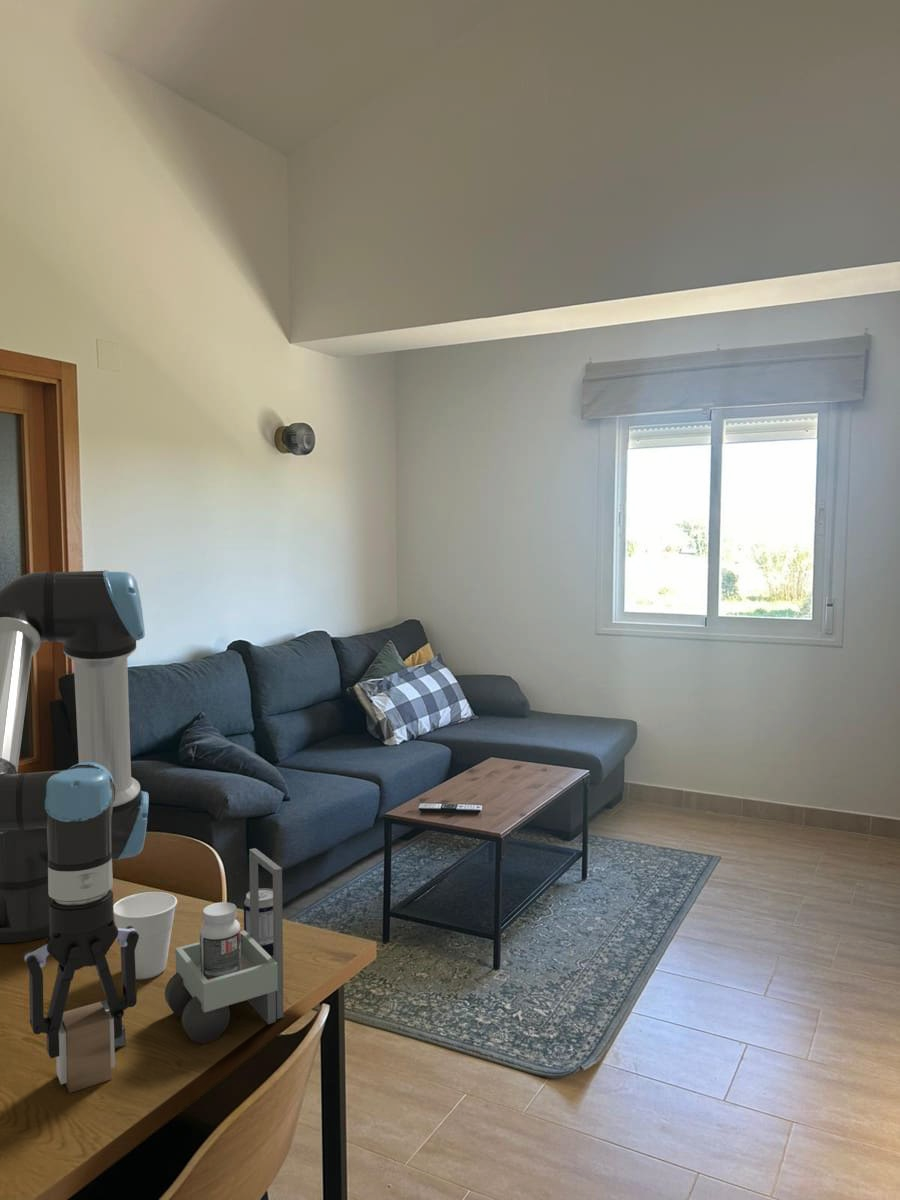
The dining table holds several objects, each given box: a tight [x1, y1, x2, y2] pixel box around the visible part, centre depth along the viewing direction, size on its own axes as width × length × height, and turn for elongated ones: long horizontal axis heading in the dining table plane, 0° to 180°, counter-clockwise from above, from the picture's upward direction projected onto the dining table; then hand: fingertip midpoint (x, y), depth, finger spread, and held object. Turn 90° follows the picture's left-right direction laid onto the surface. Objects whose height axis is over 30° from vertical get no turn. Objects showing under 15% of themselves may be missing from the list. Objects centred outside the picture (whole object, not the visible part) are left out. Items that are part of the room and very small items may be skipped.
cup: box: [113, 891, 178, 980], centre depth 140 cm, size 10×10×11 cm
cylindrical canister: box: [243, 887, 274, 959], centre depth 141 cm, size 6×6×12 cm
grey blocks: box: [67, 999, 127, 1050], centre depth 121 cm, size 9×6×2 cm, turn 34°
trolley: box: [164, 847, 285, 1044], centre depth 126 cm, size 13×14×22 cm
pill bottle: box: [199, 901, 241, 980], centre depth 126 cm, size 6×6×10 cm
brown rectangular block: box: [61, 1001, 112, 1094], centre depth 112 cm, size 5×5×8 cm
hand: (85, 1069), depth 112 cm, fingers closed on brown rectangular block, 5 cm apart
